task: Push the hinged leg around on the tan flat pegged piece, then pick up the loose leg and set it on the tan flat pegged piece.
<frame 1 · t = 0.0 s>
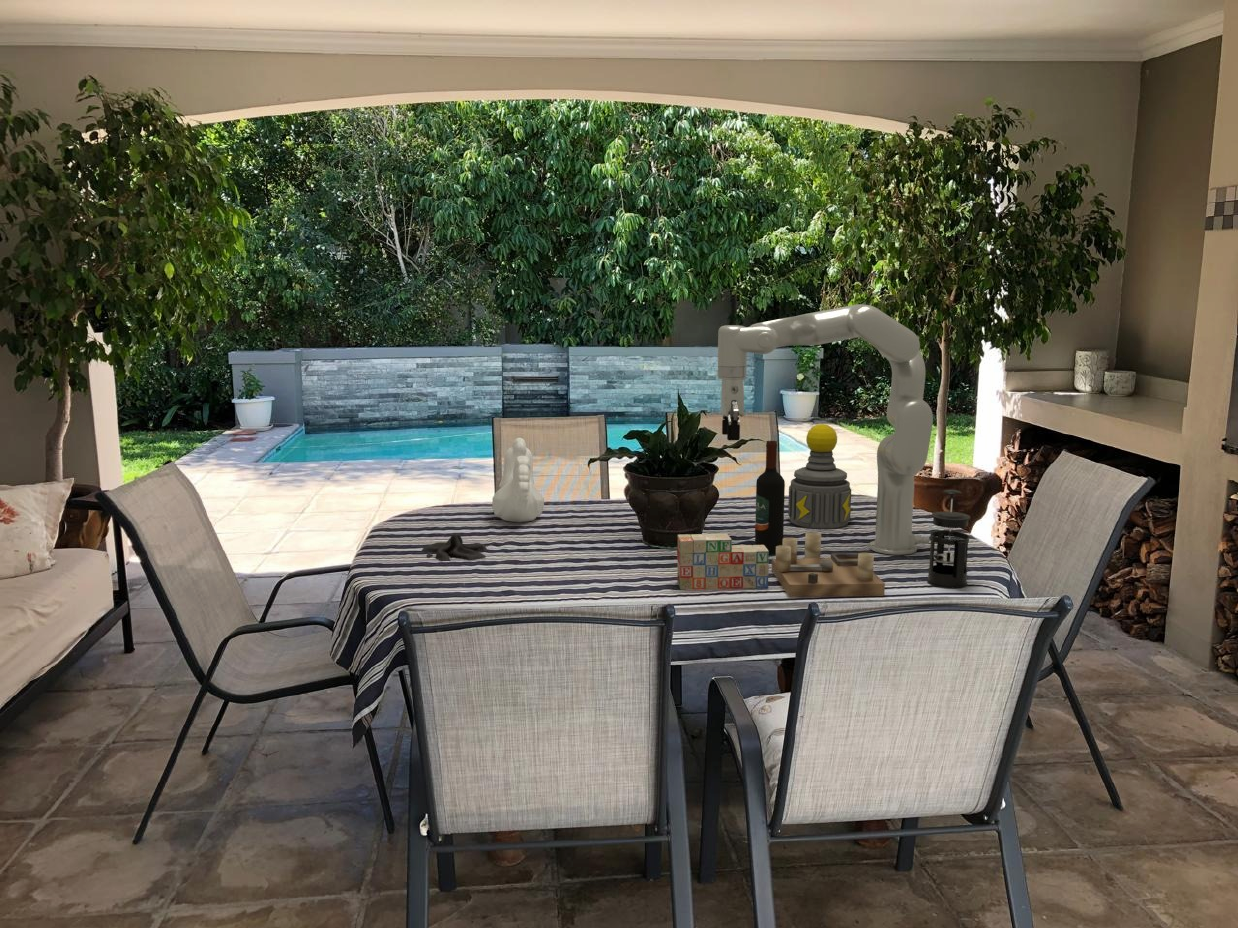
hand: (730, 437, 281), 31 cm above the table, fingers open, 9 cm apart
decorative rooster: (516, 522, 320), on the table
cloth: (453, 557, 284), on the table
stack of blocks: (722, 586, 256), on the table
tan flat pegged piece: (825, 582, 258), on the table
hinged leg: (804, 558, 257), point 6 cm above the table, hinge at 0.0°
wine bottle: (768, 551, 287), on the table
decorative lamp: (818, 523, 319), on the table
french press: (947, 584, 257), on the table
loose leg: (812, 563, 275), on the table
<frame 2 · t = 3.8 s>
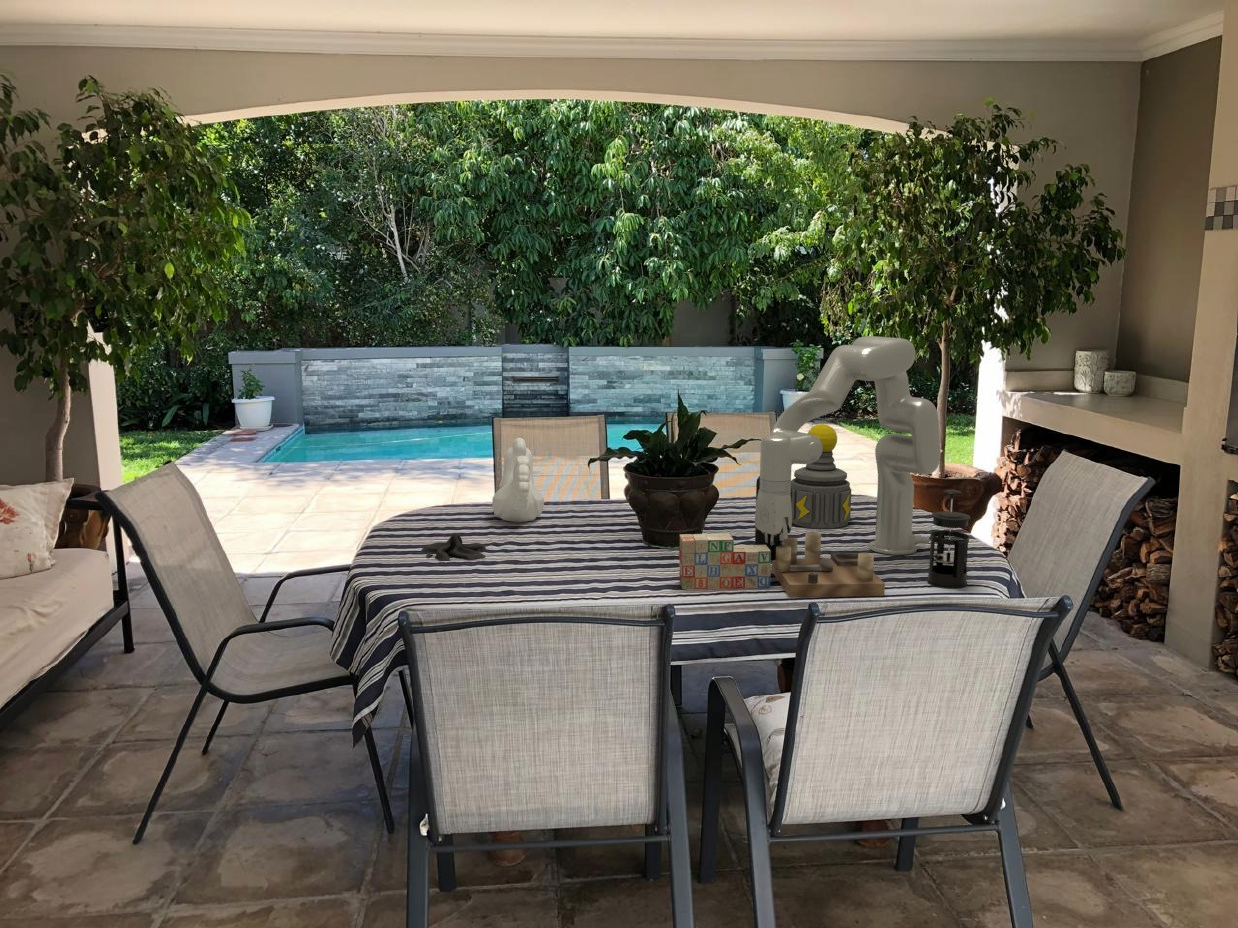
hand: (773, 559, 260), 5 cm above the table, fingers closed
hinged leg: (804, 558, 256), point 6 cm above the table, hinge at 0.9°, touching gripper
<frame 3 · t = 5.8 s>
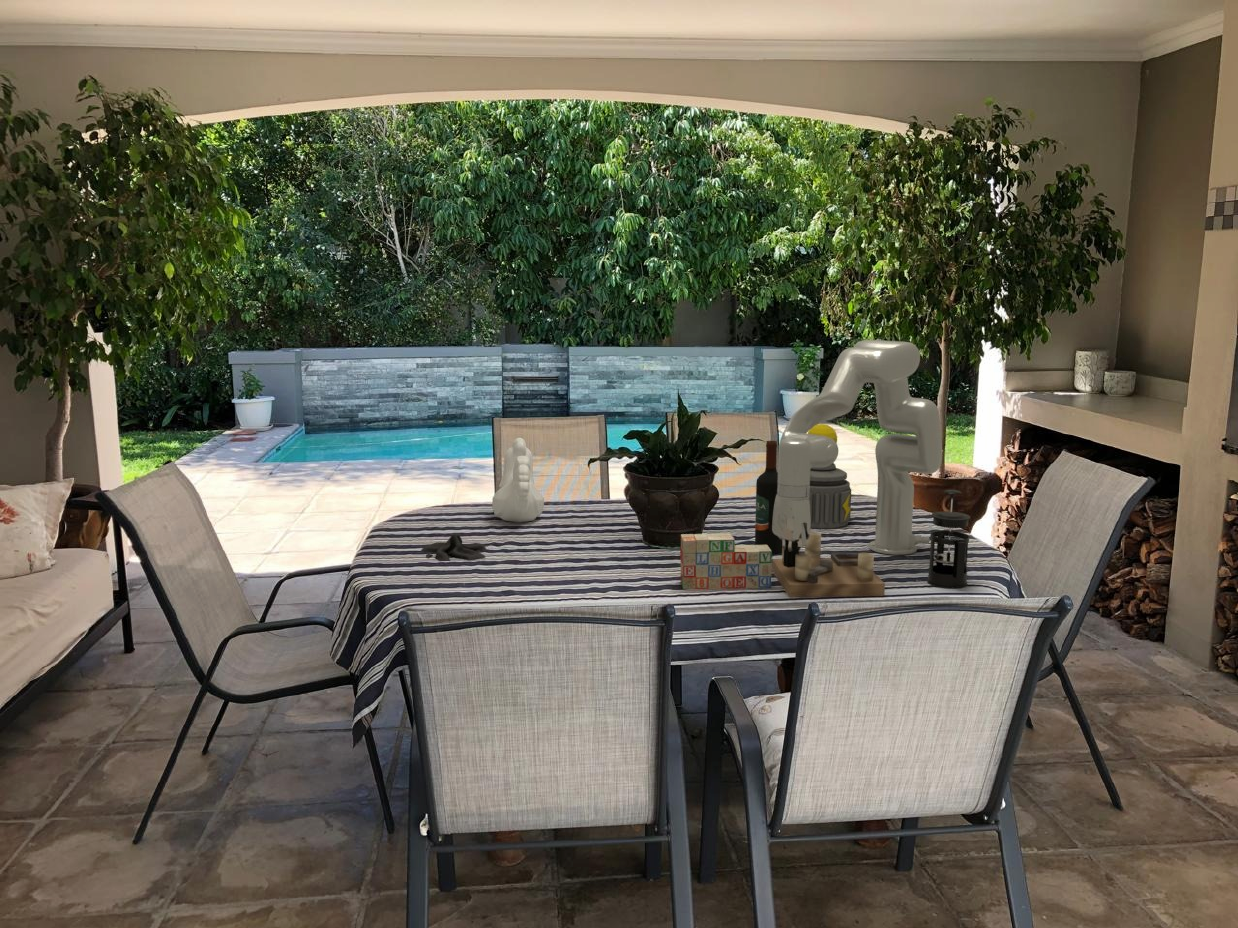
hand: (790, 566, 253), 5 cm above the table, fingers closed
hinged leg: (814, 562, 253), point 6 cm above the table, hinge at 45.7°, touching gripper
everything else where it was.
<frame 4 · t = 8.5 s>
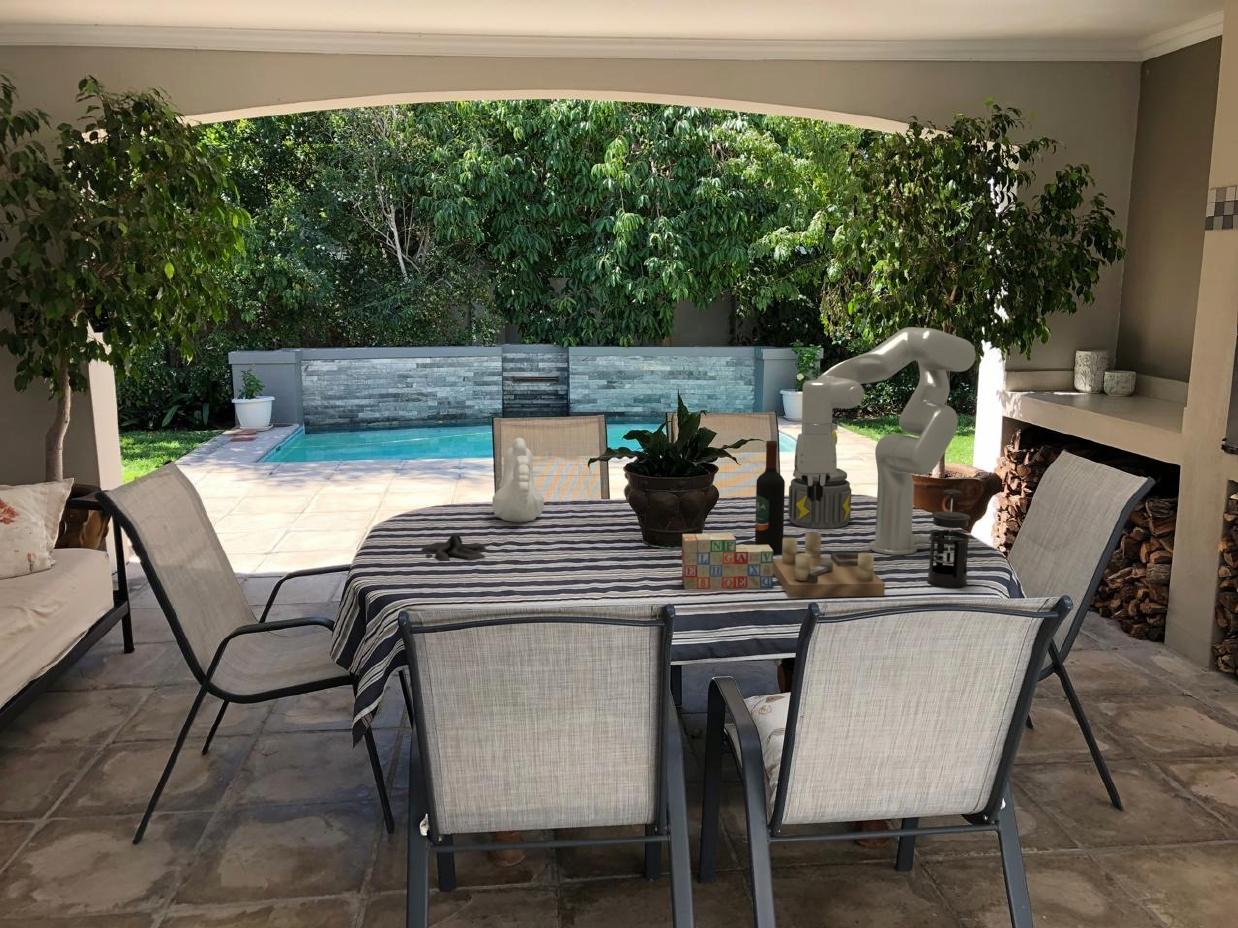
hand: (814, 499, 271), 17 cm above the table, fingers closed
hinged leg: (814, 562, 253), point 6 cm above the table, hinge at 45.7°
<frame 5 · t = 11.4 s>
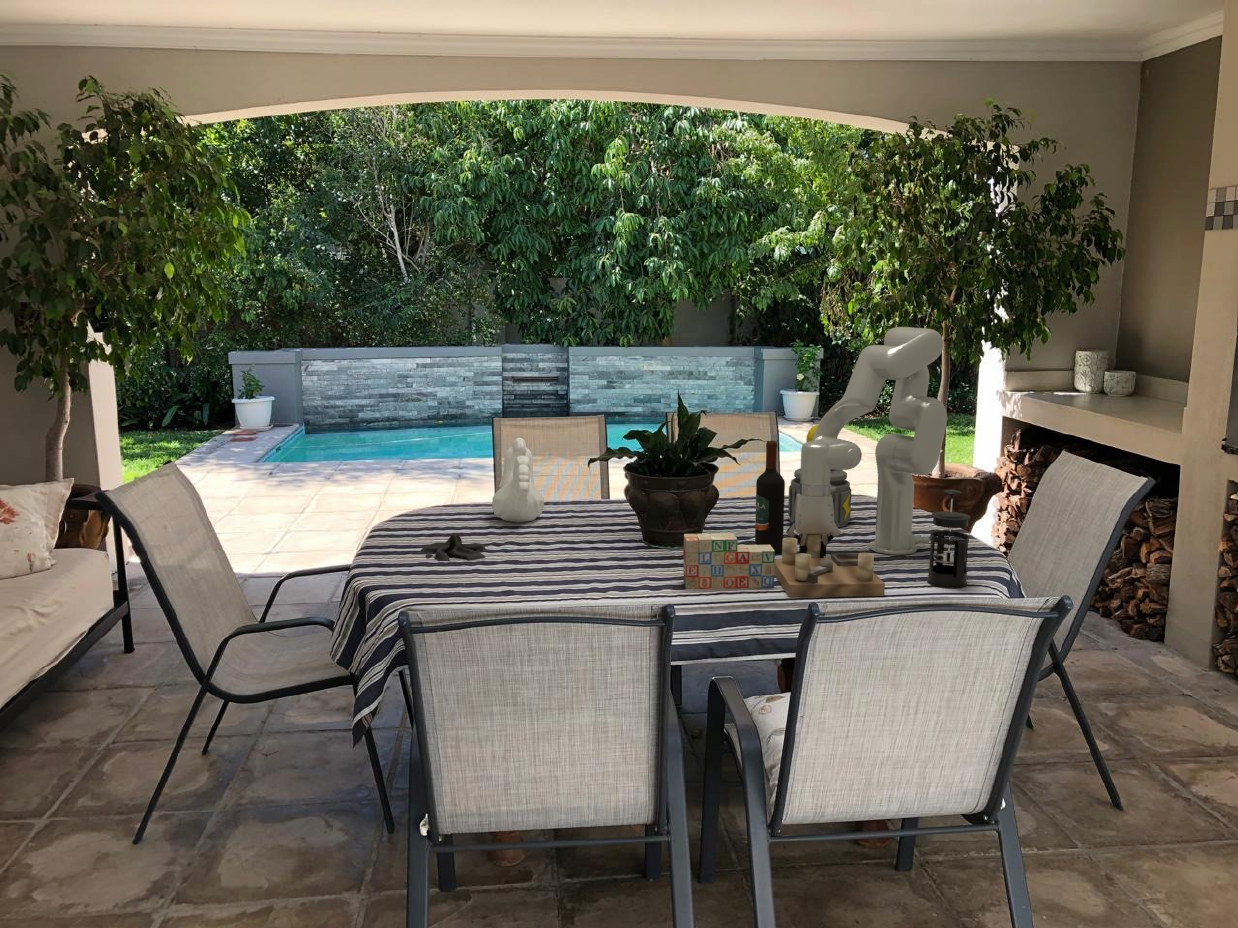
hand: (812, 558, 274), 1 cm above the table, fingers closed on loose leg, 4 cm apart
loose leg: (812, 563, 275), on the table, touching gripper
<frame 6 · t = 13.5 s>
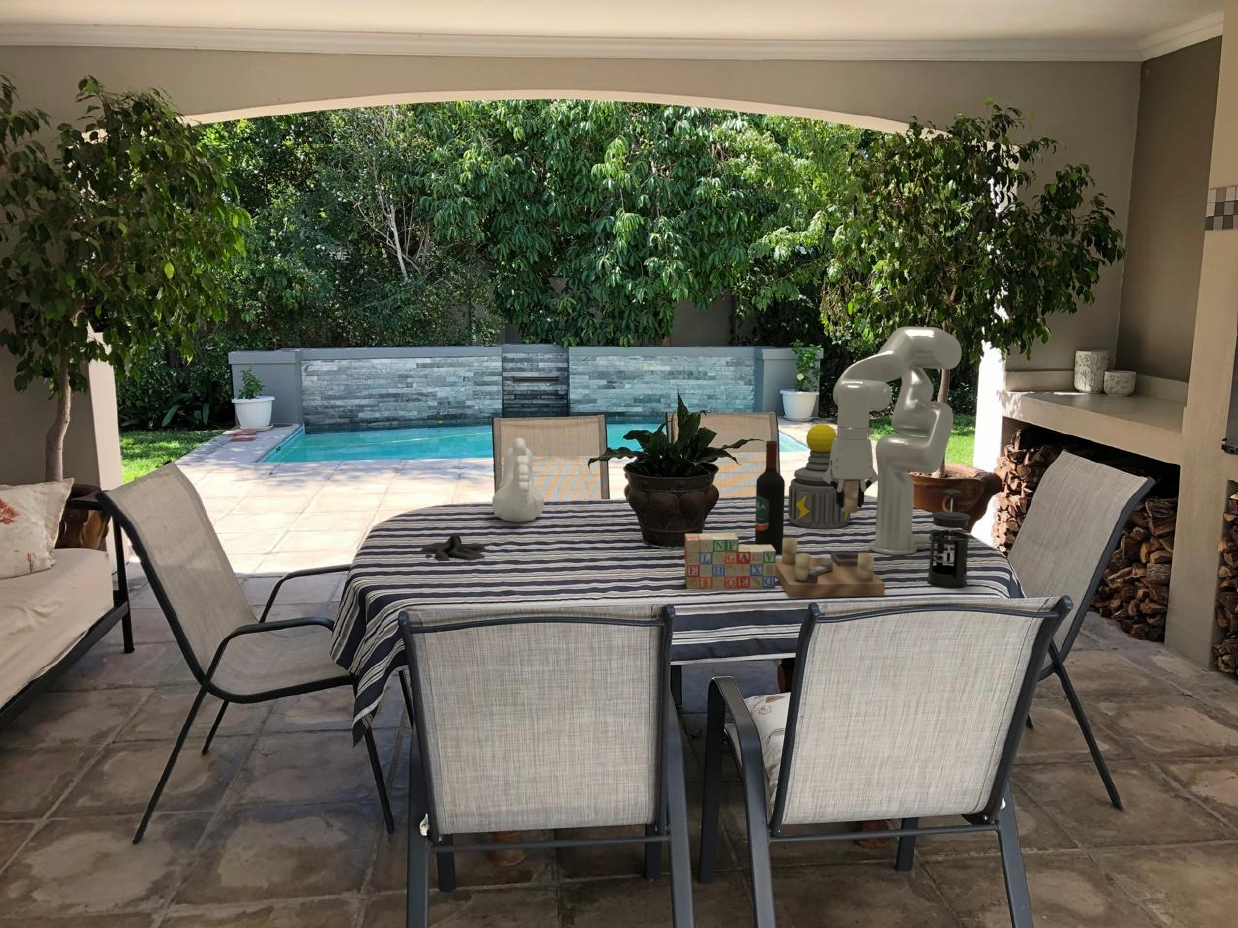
hand: (849, 505, 263), 17 cm above the table, fingers closed on loose leg, 4 cm apart
loose leg: (849, 511, 263), point 16 cm above the table, touching gripper
when the fingers open (6 cm above the table, at t = 15.9 s): loose leg drops 2 cm, resting on tan flat pegged piece.
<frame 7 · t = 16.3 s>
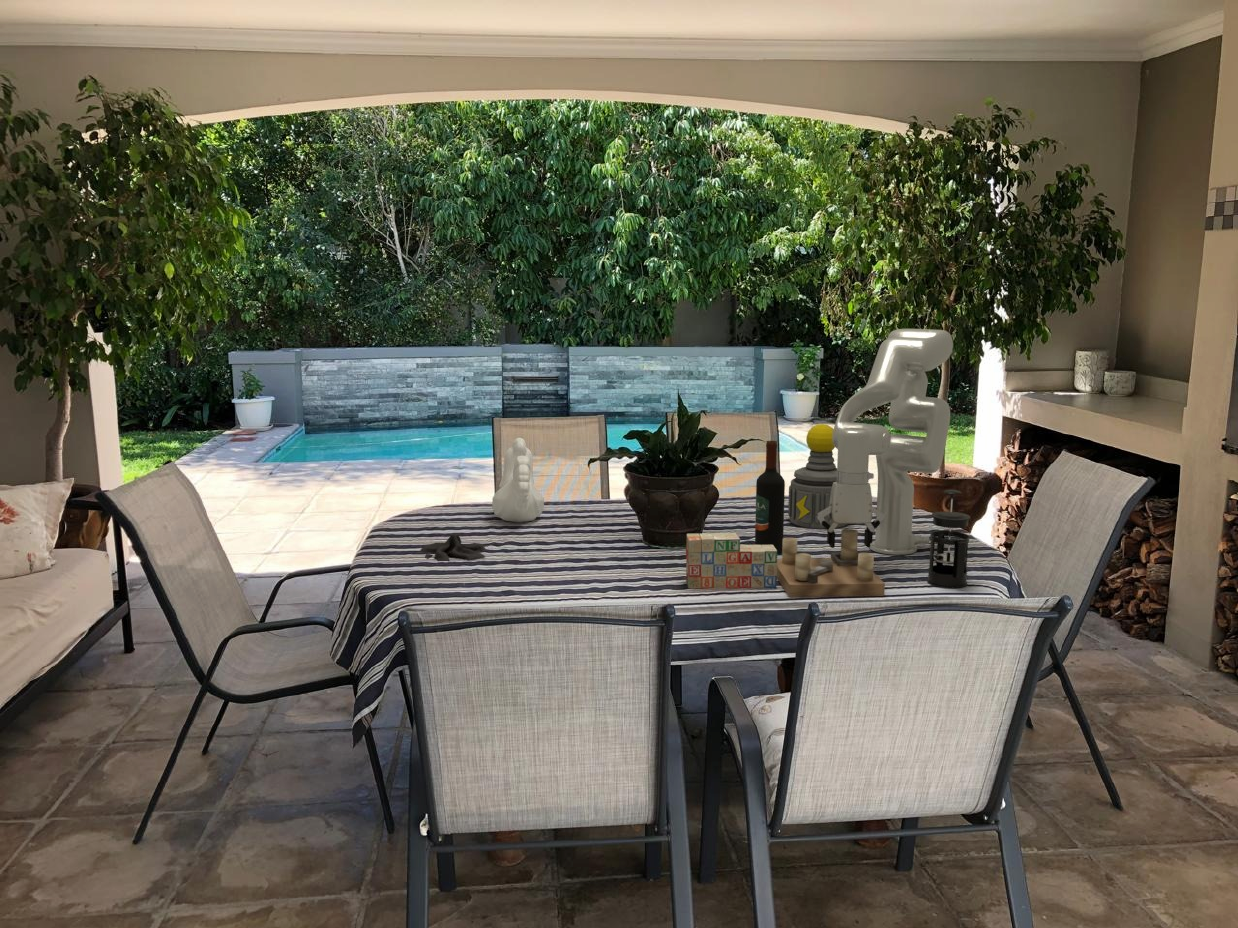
hand: (849, 546, 264), 7 cm above the table, fingers open, 8 cm apart
loose leg: (848, 561, 265), point 3 cm above the table, touching tan flat pegged piece
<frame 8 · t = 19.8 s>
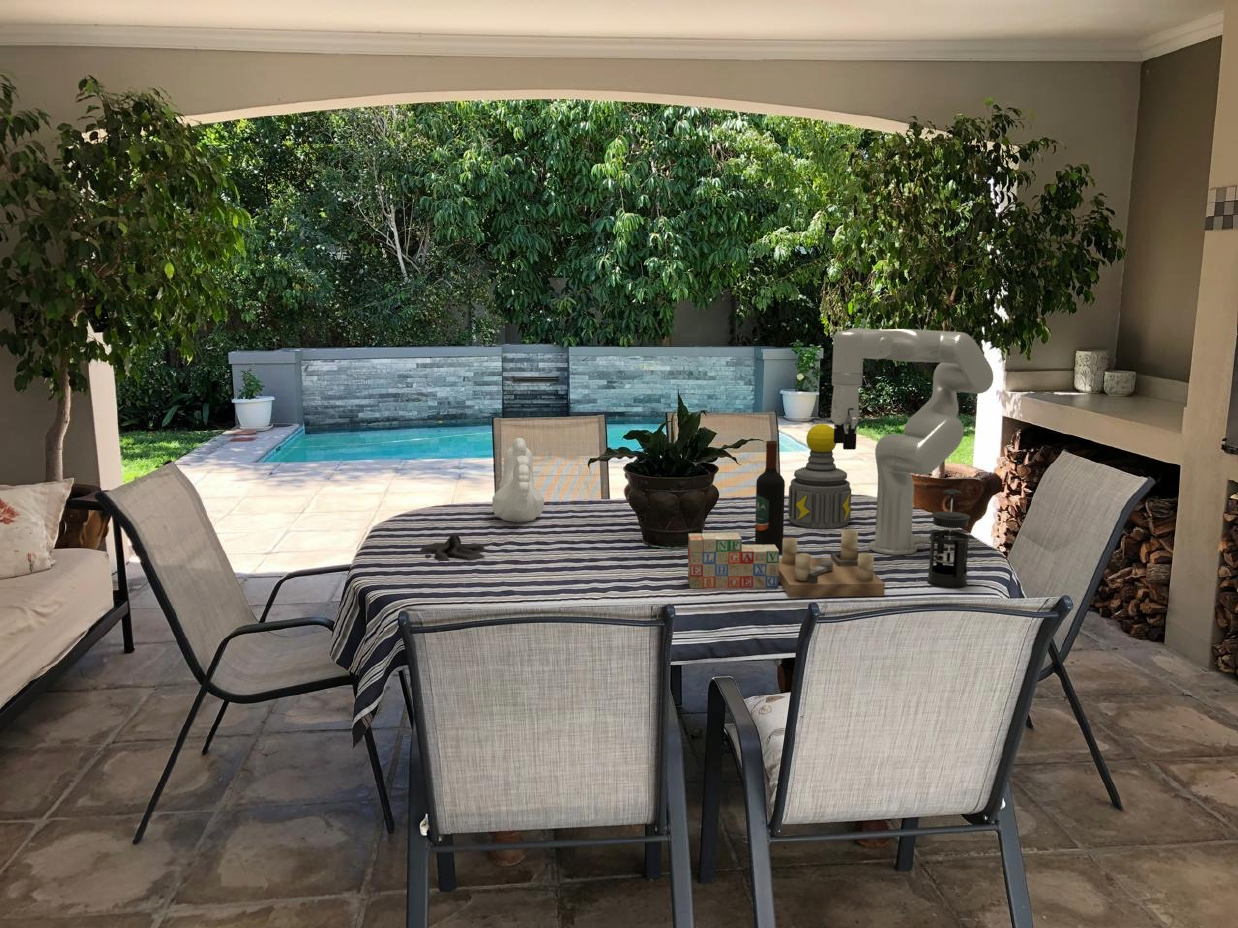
hand: (844, 446, 272), 30 cm above the table, fingers open, 9 cm apart
at the end: hinged leg at +46° (first picture: +0°); loose leg 0.1 cm from the target spot on the tan flat pegged piece, point 3.0 cm above the tan flat pegged piece's base; loose leg tilted 0° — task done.
